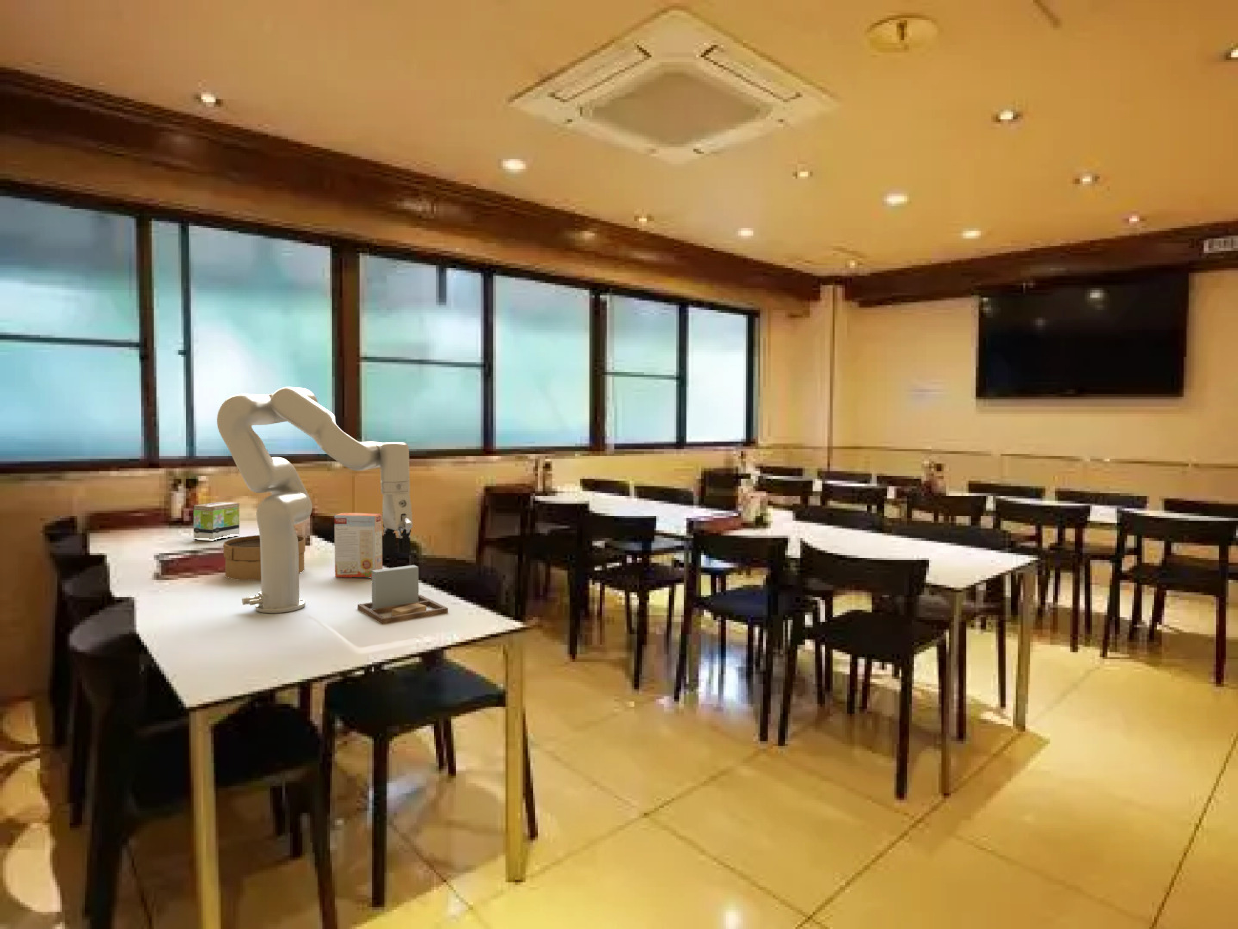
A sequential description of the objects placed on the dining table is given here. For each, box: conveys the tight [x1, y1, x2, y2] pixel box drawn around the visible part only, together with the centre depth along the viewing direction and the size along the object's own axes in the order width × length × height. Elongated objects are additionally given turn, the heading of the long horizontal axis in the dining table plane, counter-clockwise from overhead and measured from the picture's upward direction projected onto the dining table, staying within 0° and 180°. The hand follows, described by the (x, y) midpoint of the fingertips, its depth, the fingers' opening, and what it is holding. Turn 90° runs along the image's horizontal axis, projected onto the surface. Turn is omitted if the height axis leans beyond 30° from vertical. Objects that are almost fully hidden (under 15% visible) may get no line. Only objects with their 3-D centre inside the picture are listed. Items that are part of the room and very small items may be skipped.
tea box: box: [193, 501, 240, 539], centre depth 308 cm, size 15×10×15 cm, turn 167°
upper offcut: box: [391, 603, 427, 616], centre depth 195 cm, size 8×4×2 cm, turn 143°
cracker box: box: [333, 512, 383, 579], centre depth 242 cm, size 14×6×21 cm, turn 84°
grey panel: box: [371, 564, 420, 609], centre depth 201 cm, size 12×3×12 cm, turn 129°
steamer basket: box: [223, 534, 306, 581], centre depth 247 cm, size 25×25×11 cm
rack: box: [357, 594, 449, 625], centre depth 198 cm, size 18×18×2 cm
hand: (397, 550), depth 200 cm, fingers open, 9 cm apart
